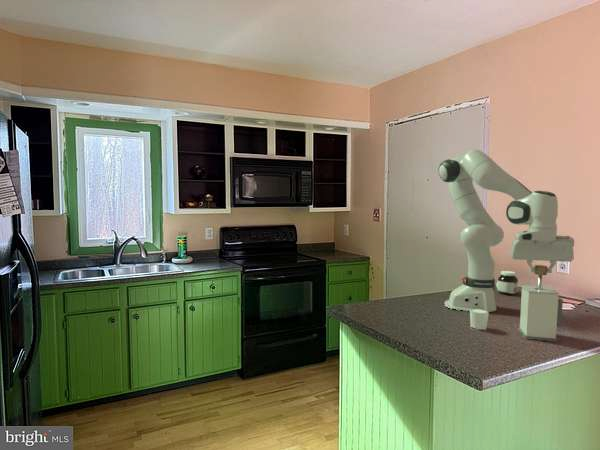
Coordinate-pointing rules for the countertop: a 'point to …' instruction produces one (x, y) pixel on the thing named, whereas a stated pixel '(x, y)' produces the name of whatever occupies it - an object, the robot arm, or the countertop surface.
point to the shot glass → (478, 318)
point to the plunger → (540, 274)
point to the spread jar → (507, 283)
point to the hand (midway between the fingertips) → (540, 272)
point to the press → (540, 313)
